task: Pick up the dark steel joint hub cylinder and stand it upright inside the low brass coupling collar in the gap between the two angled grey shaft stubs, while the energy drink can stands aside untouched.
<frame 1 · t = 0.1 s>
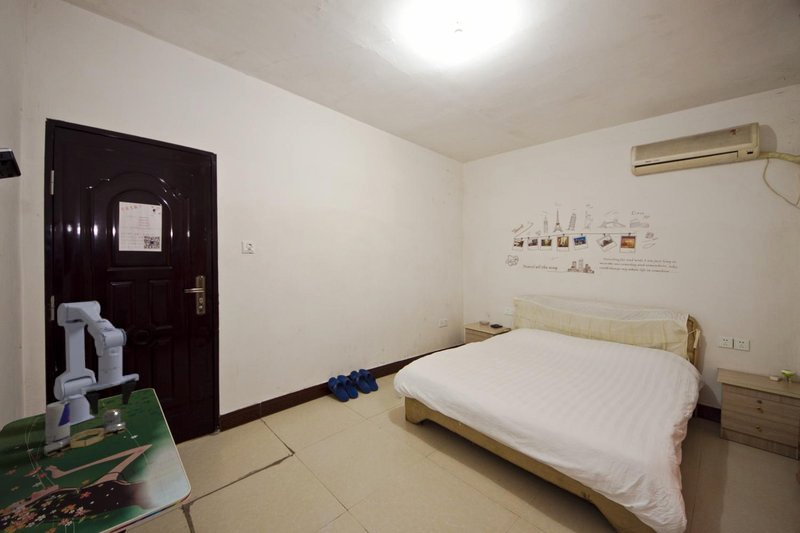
hand: (110, 408, 102), 10 cm above the table, fingers open, 7 cm apart
collar: (87, 439, 102), on the table
shaft b: (115, 432, 107), on the table
energy drink: (58, 441, 102), on the table
hub: (112, 425, 111), on the table
shaft a: (57, 450, 96), on the table
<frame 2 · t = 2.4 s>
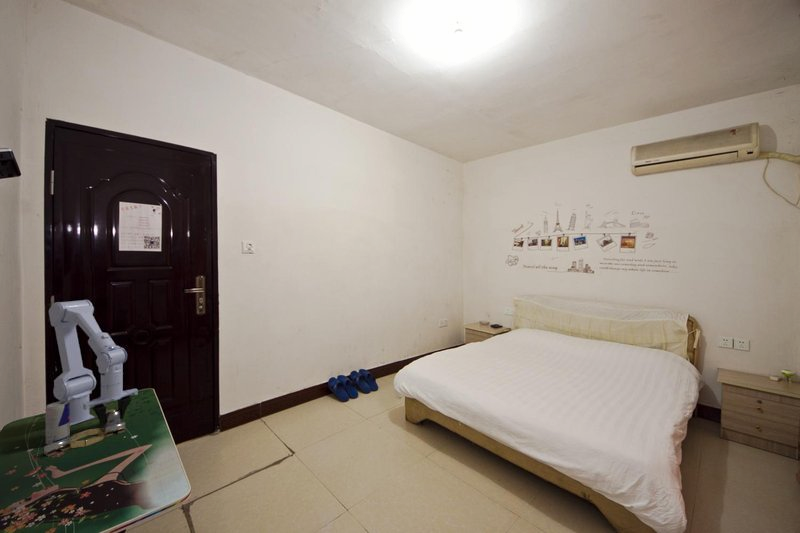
hand: (112, 421, 111), 1 cm above the table, fingers closed on hub, 4 cm apart
hub: (112, 425, 111), on the table, touching gripper
everything else where it was.
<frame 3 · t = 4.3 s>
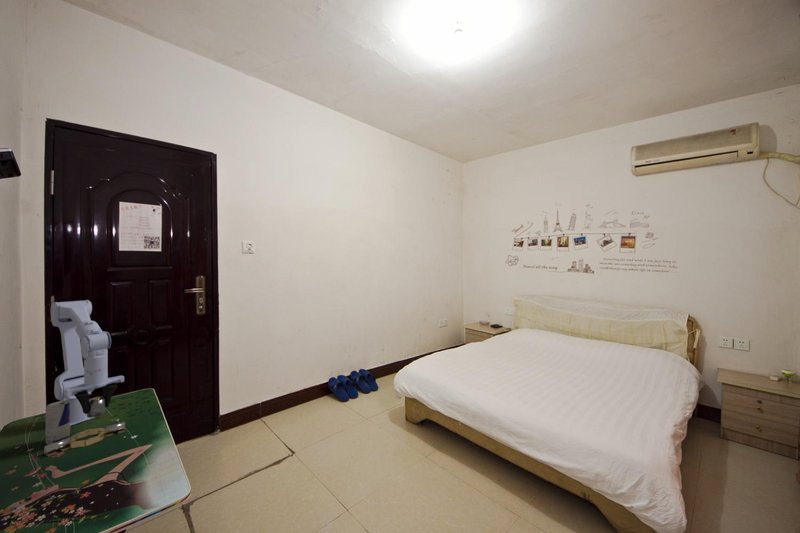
hand: (96, 409, 105), 8 cm above the table, fingers closed on hub, 4 cm apart
hub: (96, 414, 105), point 7 cm above the table, touching gripper
everything else where it was.
when the fingers open (3 cm above the table, at t = 6.4 s): hub drops 1 cm, resting in collar.
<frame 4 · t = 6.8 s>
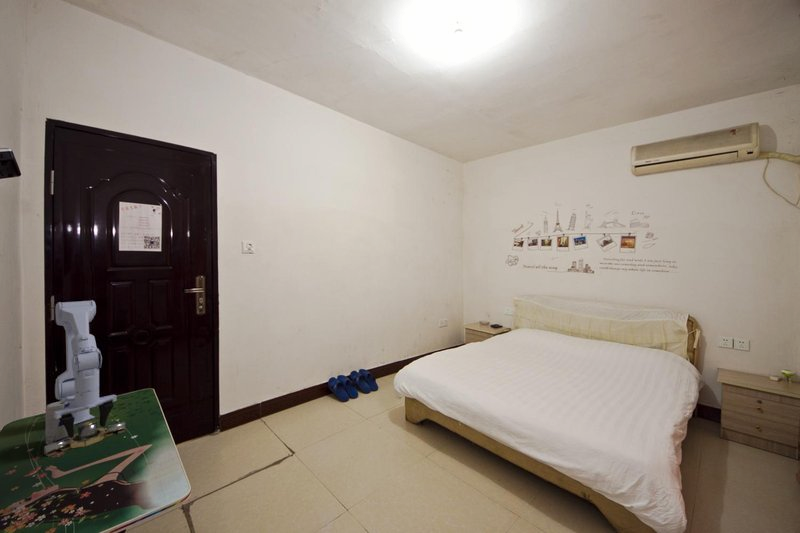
hand: (87, 431, 102), 3 cm above the table, fingers open, 7 cm apart
hub: (87, 439, 102), resting in collar
everything else where it was.
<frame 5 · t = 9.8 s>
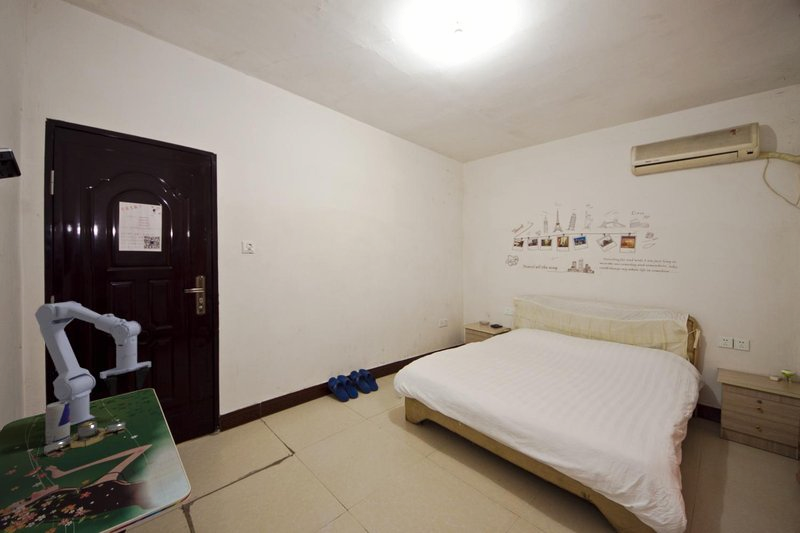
hand: (126, 391, 115), 10 cm above the table, fingers open, 7 cm apart
nothing on the table moved.
at the end: hub 0.1 cm off-centre on the collar, point 0.0 cm above the collar's base; hub tilted 0°; the gripper is holding nothing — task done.
